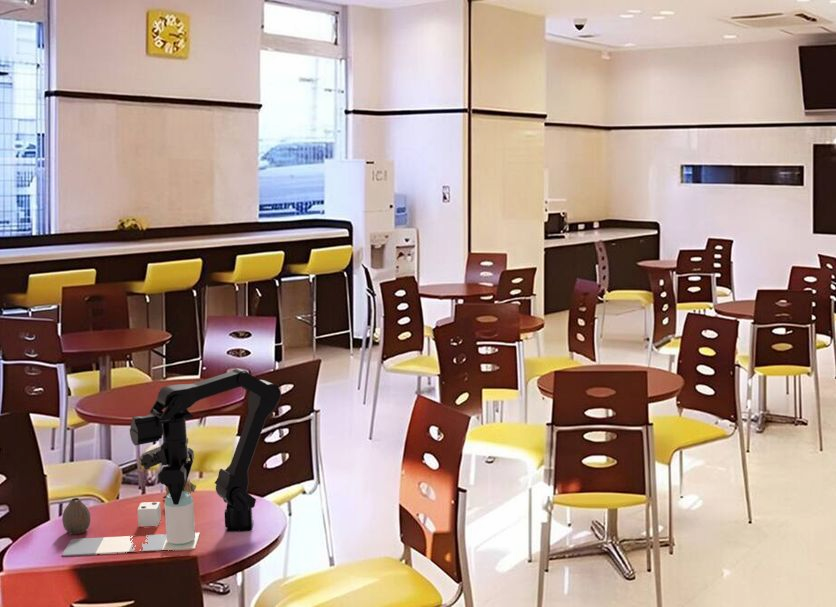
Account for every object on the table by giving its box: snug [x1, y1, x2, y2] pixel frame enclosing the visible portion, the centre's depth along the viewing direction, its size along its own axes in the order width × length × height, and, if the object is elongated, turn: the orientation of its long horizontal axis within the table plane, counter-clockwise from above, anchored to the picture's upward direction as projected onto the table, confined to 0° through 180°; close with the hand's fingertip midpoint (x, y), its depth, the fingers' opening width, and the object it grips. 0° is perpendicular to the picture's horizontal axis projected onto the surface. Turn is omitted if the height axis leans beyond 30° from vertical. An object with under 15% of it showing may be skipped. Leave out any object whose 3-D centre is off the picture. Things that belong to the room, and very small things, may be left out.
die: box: [137, 501, 162, 527], centre depth 272 cm, size 5×5×5 cm
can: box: [164, 491, 196, 545], centre depth 258 cm, size 7×7×12 cm
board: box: [61, 532, 201, 557], centre depth 258 cm, size 32×10×1 cm, turn 95°
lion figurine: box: [162, 478, 197, 500], centre depth 284 cm, size 15×5×9 cm, turn 45°
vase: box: [61, 497, 91, 536], centre depth 267 cm, size 7×7×9 cm
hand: (178, 497), depth 257 cm, fingers open, 9 cm apart
